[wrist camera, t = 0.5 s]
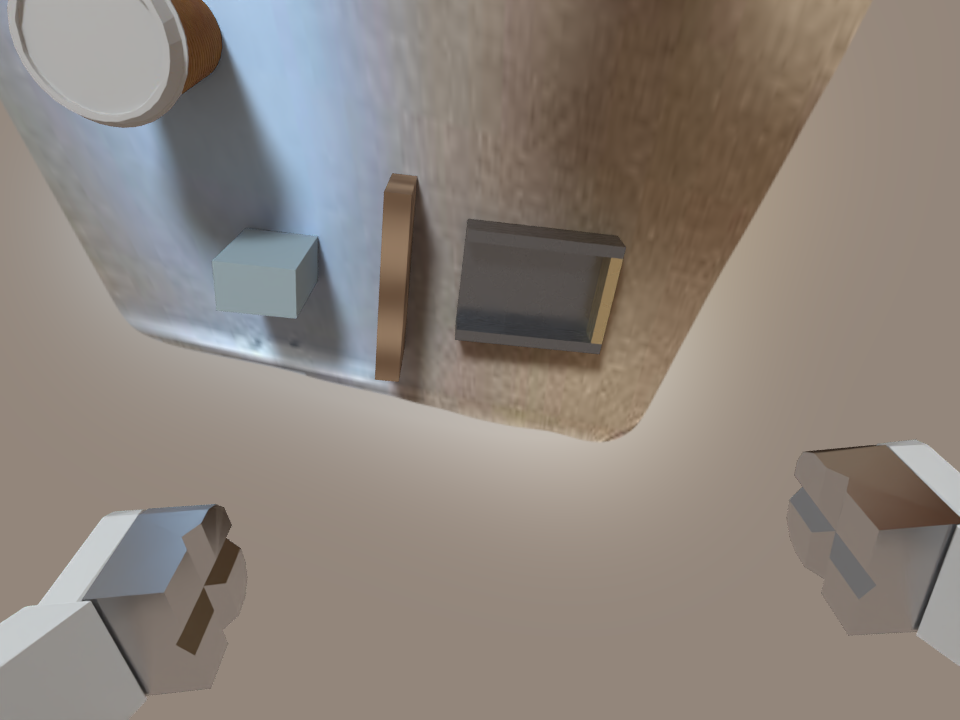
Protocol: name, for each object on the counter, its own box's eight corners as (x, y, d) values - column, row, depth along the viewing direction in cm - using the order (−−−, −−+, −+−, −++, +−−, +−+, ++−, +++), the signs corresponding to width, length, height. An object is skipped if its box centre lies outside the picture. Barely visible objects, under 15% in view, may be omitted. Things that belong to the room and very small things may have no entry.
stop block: (245, 228, 52) (211, 261, 45) (317, 236, 52) (295, 269, 45) (248, 272, 54) (216, 310, 47) (318, 279, 54) (296, 318, 47)
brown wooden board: (392, 173, 50) (384, 191, 44) (417, 176, 50) (411, 194, 45) (383, 346, 57) (375, 379, 52) (404, 348, 58) (398, 381, 52)
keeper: (467, 218, 52) (468, 229, 49) (617, 236, 53) (625, 247, 50) (455, 324, 57) (455, 339, 54) (593, 338, 58) (599, 354, 55)
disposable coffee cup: (234, -39, 42) (160, -57, 32) (252, 108, 47) (192, 134, 37) (93, -48, 42) (-29, -69, 32) (125, 102, 47) (27, 126, 36)
